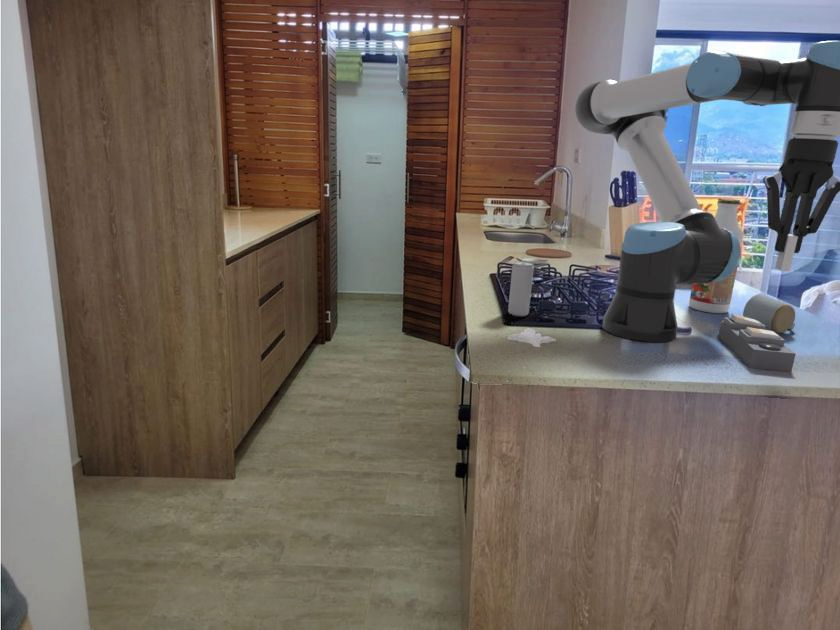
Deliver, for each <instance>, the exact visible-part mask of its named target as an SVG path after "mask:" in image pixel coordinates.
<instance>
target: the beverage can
mask: <svg viewBox="0 0 840 630" xmlns="http://www.w3.org/2000/svg"><path fill="white" fill-rule="evenodd" d="M534 270H535V269H534V263H533V262H529V261H521V260H519V261H513V263H512V267H511V275H510V276H511V277H510V288H509V298H508V307H507V308H508V310H507V311H508V314H509V315H511V314H512V316H514V315H515V316H514V317H526V316H528V315H529V313H530V303H531V294H532V287H533V285H532V284H533V277H534Z"/></svg>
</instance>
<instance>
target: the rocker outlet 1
mask: <svg viewBox="0 0 840 630" xmlns="http://www.w3.org/2000/svg"><path fill="white" fill-rule="evenodd" d="M729 318H731V319H732V320H733V321H734V322H737V323H741V324H751V325H761V323H759V322H758V321H756V320H755V319H751V318H747V317H743V315H738V314H735V313H731V315H730V317H729Z"/></svg>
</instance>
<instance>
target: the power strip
mask: <svg viewBox="0 0 840 630" xmlns="http://www.w3.org/2000/svg"><path fill="white" fill-rule="evenodd" d="M723 319H724V320H720V324H719V329H718V333H717V337H718V338H719V339H720V340H721V341H722V342H723V343H724V344H725V345H726V346H728V348H730V349H731V351H733V353H735V355H737V357H739V358H740V359H741V360H742V362H744V363H745V364H746V365H747V366H748V367H749V368H753V369H762V370H770V371H771V370H772V371H781V372H790V373H791V372H792V371H793V367H794V362H795V359H796V358H795V357H796V352H795V351H793V350H791V349H790V348H788V347H787V346H786V345H785V343H786V342H785V341H786V339H784V338H783V337H781V336H780V335H779V339H773V338H763V337H753V336H750V335H749V334H747V333H746V332H745V331H746V328H747V327H750V328H756V329H762V330H765V328H766V326H765V325H763V324H762V323H761V322H759V321H758V320H756V321H758V322H759V323H761V325H751V324H741V323H737V322H734V321H733V320H732V319H731V318H730V317H728V316H727V317H726V316H725V317H724V318H723Z"/></svg>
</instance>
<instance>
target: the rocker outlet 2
mask: <svg viewBox="0 0 840 630" xmlns="http://www.w3.org/2000/svg"><path fill="white" fill-rule="evenodd" d="M745 332H746V333H747V334H749V335H750V336H753V337H763V338H773V339H779V336H780V335H779V334H776V333H775V332H773V331H769V330H762V329H756V328H750V327H747V328H746V331H745Z"/></svg>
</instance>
